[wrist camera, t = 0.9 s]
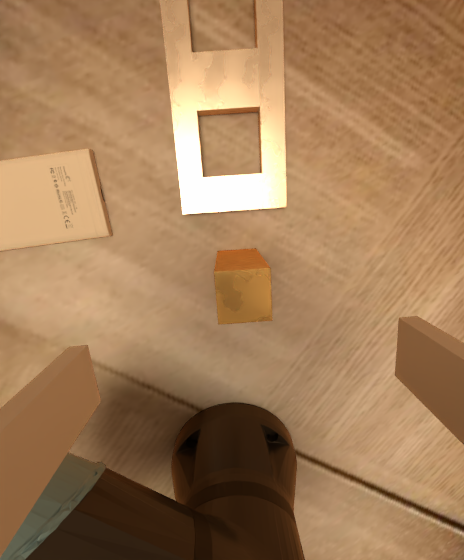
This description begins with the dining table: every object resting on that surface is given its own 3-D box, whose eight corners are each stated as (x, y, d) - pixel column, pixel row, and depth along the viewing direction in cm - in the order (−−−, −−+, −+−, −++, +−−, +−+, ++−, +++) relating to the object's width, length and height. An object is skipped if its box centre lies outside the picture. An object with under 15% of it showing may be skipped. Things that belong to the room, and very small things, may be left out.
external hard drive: (-30, 168, 28) (95, 150, 28) (-2, 250, 30) (115, 235, 30) (-45, 166, 26) (87, 147, 26) (-14, 253, 28) (108, 236, 28)
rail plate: (283, 207, 29) (286, 207, 27) (184, 213, 29) (182, 214, 27) (277, -69, 23) (281, -88, 22) (156, -62, 23) (151, -80, 22)
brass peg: (257, 285, 31) (272, 320, 21) (220, 287, 31) (218, 324, 21) (255, 248, 30) (270, 267, 20) (217, 251, 30) (214, 271, 20)
